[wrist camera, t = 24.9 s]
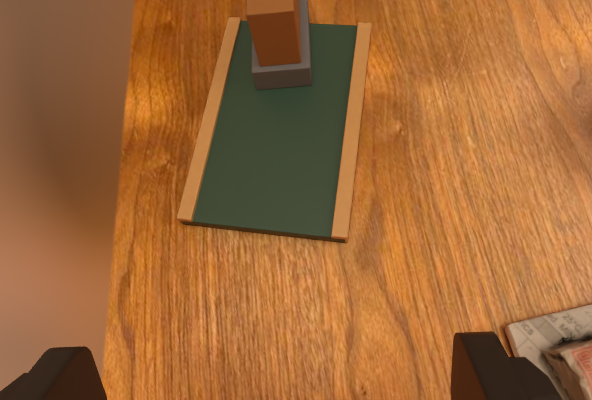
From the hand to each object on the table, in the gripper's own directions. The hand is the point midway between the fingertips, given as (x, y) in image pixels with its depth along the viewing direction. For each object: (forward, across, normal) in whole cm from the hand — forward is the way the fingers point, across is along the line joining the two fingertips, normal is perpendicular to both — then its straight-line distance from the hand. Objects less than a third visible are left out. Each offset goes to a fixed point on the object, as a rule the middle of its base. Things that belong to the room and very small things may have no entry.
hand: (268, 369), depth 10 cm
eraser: (+34, +2, -4) cm, 34 cm away
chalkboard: (+30, +2, +1) cm, 30 cm away
